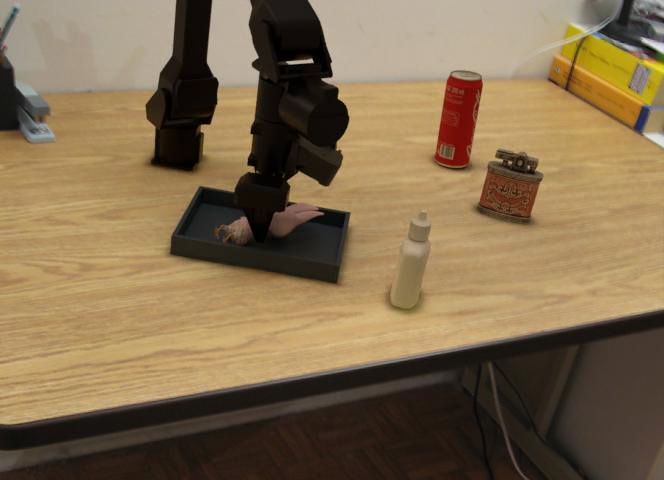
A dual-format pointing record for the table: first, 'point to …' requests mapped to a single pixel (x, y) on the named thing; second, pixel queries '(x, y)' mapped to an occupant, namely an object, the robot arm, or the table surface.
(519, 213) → the lighter
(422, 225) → the eye dropper bottle
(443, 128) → the beverage can
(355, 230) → the table surface
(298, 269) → the desk tray
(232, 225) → the rabbit figure
